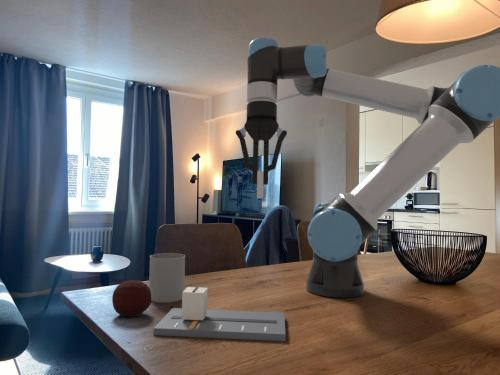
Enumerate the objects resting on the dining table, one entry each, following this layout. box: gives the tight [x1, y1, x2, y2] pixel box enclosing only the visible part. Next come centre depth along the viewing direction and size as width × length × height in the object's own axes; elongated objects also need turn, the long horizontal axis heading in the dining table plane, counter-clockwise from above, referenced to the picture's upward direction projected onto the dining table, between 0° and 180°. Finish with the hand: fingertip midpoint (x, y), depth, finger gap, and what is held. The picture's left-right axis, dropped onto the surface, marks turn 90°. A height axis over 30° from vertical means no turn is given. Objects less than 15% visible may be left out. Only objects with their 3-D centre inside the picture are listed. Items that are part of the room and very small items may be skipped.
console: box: [153, 307, 287, 342], centre depth 69 cm, size 23×12×1 cm, turn 86°
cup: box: [148, 252, 186, 303], centre depth 89 cm, size 8×8×10 cm
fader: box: [181, 286, 209, 320], centre depth 70 cm, size 4×4×5 cm
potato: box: [111, 279, 152, 317], centre depth 75 cm, size 7×8×7 cm
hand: (260, 198), depth 91 cm, fingers closed
